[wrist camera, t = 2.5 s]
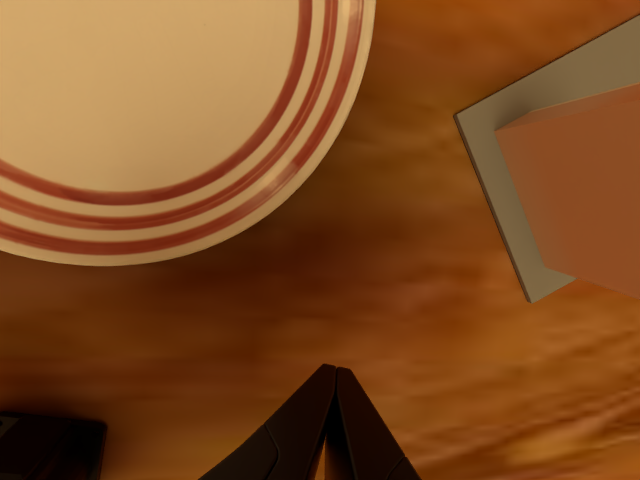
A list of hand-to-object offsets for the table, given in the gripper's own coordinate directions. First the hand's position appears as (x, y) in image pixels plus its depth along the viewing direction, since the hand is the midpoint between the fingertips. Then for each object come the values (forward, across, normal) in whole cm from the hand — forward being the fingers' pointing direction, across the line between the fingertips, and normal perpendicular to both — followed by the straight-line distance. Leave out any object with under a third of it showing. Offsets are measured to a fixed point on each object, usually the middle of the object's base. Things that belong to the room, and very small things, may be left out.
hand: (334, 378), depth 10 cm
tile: (+15, +11, +4) cm, 19 cm away
